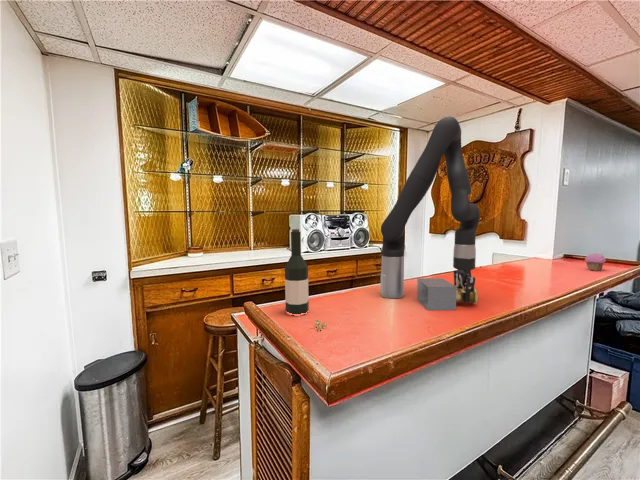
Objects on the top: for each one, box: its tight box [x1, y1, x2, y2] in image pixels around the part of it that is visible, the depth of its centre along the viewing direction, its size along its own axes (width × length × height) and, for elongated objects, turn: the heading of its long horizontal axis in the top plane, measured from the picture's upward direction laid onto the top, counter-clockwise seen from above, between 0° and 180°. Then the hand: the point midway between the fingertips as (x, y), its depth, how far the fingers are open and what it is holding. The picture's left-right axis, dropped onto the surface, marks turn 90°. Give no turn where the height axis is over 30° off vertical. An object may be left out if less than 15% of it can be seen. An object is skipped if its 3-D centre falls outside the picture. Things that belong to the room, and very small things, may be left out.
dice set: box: [315, 319, 327, 331], centre depth 92 cm, size 5×5×2 cm
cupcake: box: [584, 253, 607, 272], centre depth 173 cm, size 9×9×10 cm
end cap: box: [456, 286, 479, 305], centre depth 113 cm, size 13×6×6 cm, turn 87°
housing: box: [416, 277, 457, 311], centre depth 114 cm, size 10×14×9 cm
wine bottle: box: [284, 228, 310, 314], centre depth 106 cm, size 8×8×30 cm
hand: (463, 300), depth 113 cm, fingers closed on end cap, 5 cm apart
